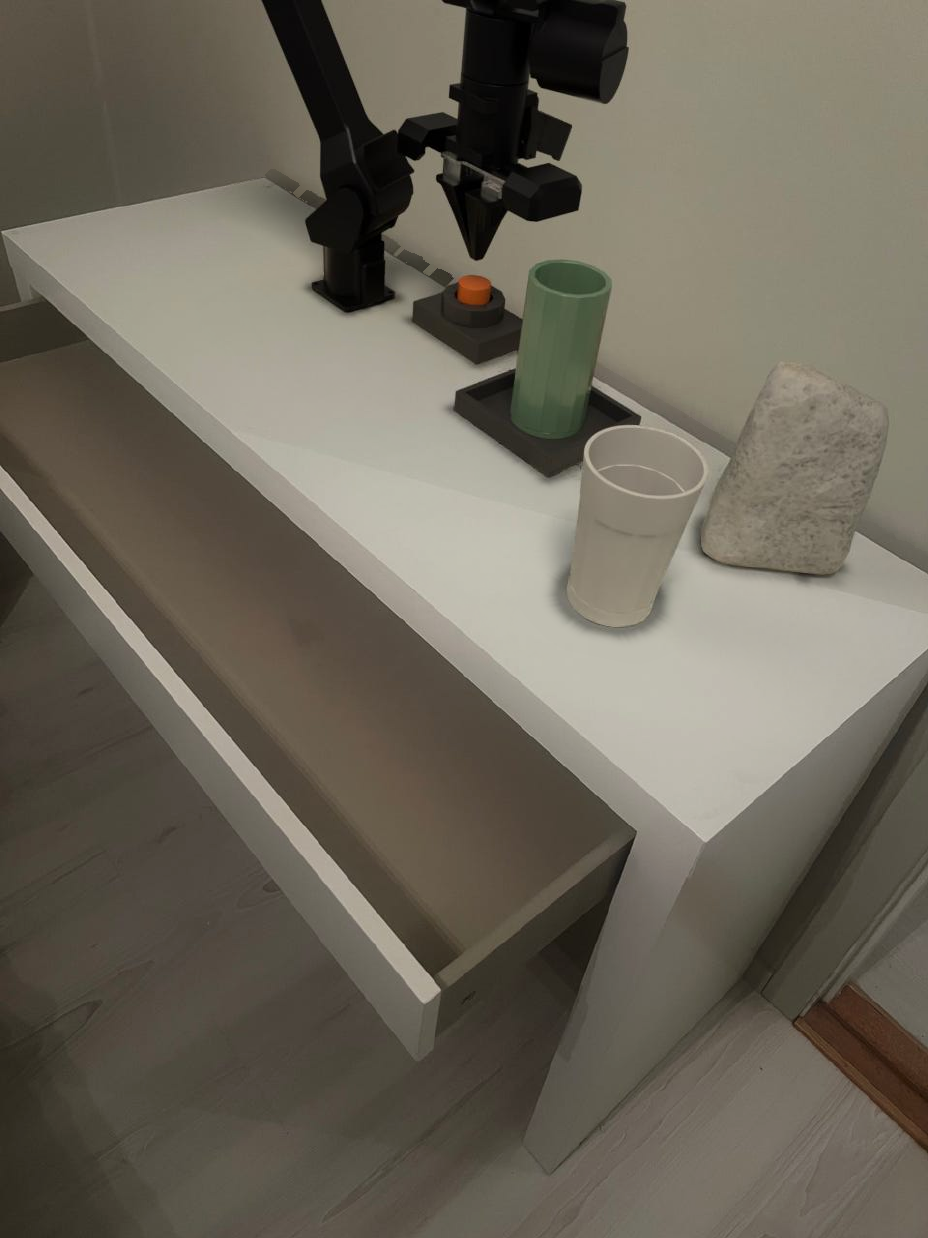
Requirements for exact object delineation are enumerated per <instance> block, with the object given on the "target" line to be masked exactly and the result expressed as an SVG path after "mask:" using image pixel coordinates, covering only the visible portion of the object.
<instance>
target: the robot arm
mask: <svg viewBox="0 0 928 1238" xmlns="http://www.w3.org/2000/svg"><path fill="white" fill-rule="evenodd" d="M260 1H261V3H262V6H263V8H264V11H265V13H266V15H267V17H268V20H269V22H270V25H271V27H272V29H273V32H274V34H275V37H276V38H277V39H276V40H277V41H278V44H279V46H280V49H281V50H282V53H283V55H284V58H285V60H286V63H287V65H288V67H289V69H290V72H291V75H292V76H293V79H294V82H295V84H296V86H297V89H298V91H299V92H300V96H301V98H302V101H303V102H304V105H305V108H306V110H307V112H308V115H309V117H310V119H311V122H312V124H313V126H314V129H315V132H316V134H317V136H318V140H319V178H320V179H319V180H320V182H321V186H322V190H323V193H324V196H325V201H323V203H321V204H320V205H319V207H317V208H316V209H315V210H313V212H312V213H311V214H309V215H308V216H307V217H306V218H305V219H304V224H305V228H306V231H307V234H308V237H309V240H310V242H311V243H313V244H316V245H319V246H322V252H323V253H322V258H323V263H322V265H323V266H322V267H323V279H318V280H315V281H312V282H311V289H312V290H313V291H315V292H317V294H320V295H321V296H322V297H324V298H325V299H326V300H328V301H329V302H331V303H333V304H334V305H335V306H337V307H338V308H340V310H342V311H345V312H351V311H355V310H358V309H361V308H364V307H368V306H372V305H374V304H377V303H381V302H385V301H387V300H391V299H395V297H396V291H395V290H393V289H392V288H390V287H388V286H387V285H386V258H385V248H386V247H385V245H386V244H385V243H386V242H385V241H384V240H383V234H384V233H385V232H386V231H388V230H389V229H393V228H395V226H396V224H397V221H398V219H399V216H400V215H402V214H404V213H405V212H406V211H407V209H409V207H410V204H411V201H412V198H413V195H414V184H413V183H414V182H413V180H412V176H411V175H412V174H414V173H415V169H414V168H413V166H412V165H411V164H410V162H409V161H408V159H410V160H411V161H413V162H416V161H420V160H421V159H422V158H423V157H424V156H425V155H426V149H427V148H430V149H432V150H434V151H436V152H437V153H440V158H442V159H443V160H442V161H443V162H442V172H441V173H437V174H436V175H435V181H436V183H438V184H439V185H440V187H441V188H442V191H443V193H444V195H445V197H446V200H447V202H448V205H449V207H450V209H451V211H452V214H453V216H454V219H455V221H456V223H457V226H458V229H459V232H460V235H461V237H462V240H463V242H464V245H465V248H466V251H467V253H468V257H469V258H470V259H472V260H473V261H475V262H479V261H482V260H483V259H484V258H485V256H486V254H487V252H488V250H489V249H490V246H491V244H492V242H493V240H494V238H495V236H496V234H497V232H498V230H499V227H500V225H501V223H502V221H503V220H504V218H505V216H506V215H507V213H508V212H510V213H511V214H513V215H515V216H517V217H518V218H521V219H522V220H525V221H526V222H532V223H538V222H541V221H542V222H543V221H546V220H549V219H552V218H556V217H557V218H558V217H560V216H564V215H567V214H571V213H574V212H579V210H580V205H581V198H582V193H583V185H582V182H581V181H580V179H579V177H578V175H575V174H574V173H572V172H569V171H567V170H565V169H564V168H561V167H559V166H557V165H555V164H553V163H551V162H546V163H542V164H538V165H534V166H529V167H528V166H526V165H524V164H522V163H520V162H519V160H521V159H523V160H525V161H528V160H533V159H536V157H537V152H538V153H541V154H544V155H547V156H550V157H551V158H552V160H554V161H557V162H561V159H562V156H563V154H564V151H565V148H566V145H567V142H568V140H569V138H570V135H571V132H572V130H573V127H572V125H573V124H571V123H569V122H567V121H565V120H562V119H560V118H558V117H556V116H553V115H551V114H549V113H547V112H544V111H543V110H540V109H539V104H540V99H539V96H538V95H539V93H538V92H537V91H534V90H532V89H529V85H530V79H533V80H536V83H537V85H538V87H539V88H540V89H543V90H547V91H551V92H555V93H559V94H561V95H567V96H571V97H574V98H579V99H581V100H582V99H583V100H585V101H589V102H594V103H598V104H602V105H607V104H609V103H610V102H611V101H612V100H613V98H614V97H615V95H616V93H617V91H618V89H619V87H620V85H621V82H622V78H623V76H624V73H625V71H626V65H627V62H628V59H629V58H628V57H629V52H630V51H629V50H630V47H629V46H628V27H627V23H626V22H625V17H626V10H627V4H626V2H625V1H621V0H441V2H442V3H443V4H445V5H450V6H454V7H458V8H463V9H465V15H464V16H465V18H464V27H463V28H464V29H463V30H464V31H463V43H462V56H461V68H460V69H461V70H460V80H459V82H458V83H452V84H449V88H448V99H450V100H452V101H455V102H457V103H458V104H457V105H458V107H457V118H456V117H455V116H452V115H450V114H448V113H446V112H444V111H441V112H435V113H430V114H424V115H419V116H413V117H407V118H405V119H404V121H403V123H402V124H401V125H400V126H399V129H398V130H396V129H392V130H389V131H387V132H385V133H384V132H382V131H381V130H380V129H379V127H377V126H376V125H375V123H373V122H372V121H371V120H370V118H369V117H368V115H367V112H366V109H365V107H364V105H363V102H362V100H361V99H362V98H361V97H360V95H359V92H358V89H357V87H356V84H355V81H354V80H353V77H352V75H351V72H350V70H349V69H350V68H349V67H348V64H347V61H346V59H345V56H344V54H343V52H342V48H341V46H340V44H339V41H338V39H337V36H336V34H335V32H334V29H333V26H332V24H331V21H330V18H329V16H328V13H327V10H326V8H325V6H324V3H323V1H322V0H260ZM539 110H540V111H539ZM546 113H547V114H546ZM555 117H556V118H555ZM564 121H565V122H564ZM571 129H572V130H571ZM407 158H408V159H407ZM382 233H383V234H382Z"/></svg>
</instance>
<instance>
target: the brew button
mask: <svg viewBox="0 0 928 1238" xmlns="http://www.w3.org/2000/svg"><path fill="white" fill-rule="evenodd" d="M457 283H458V294H457V298H458V300H459V301H461V302H463V303H467V304H471V305H483V304H486V303H489V301H490V293H491V285H492V282H491V280H489V279H488V278H487V277H485V276H483V275H477V274H468V275H467V274H466V275H463V276H461V277H460V278H459V279H458V282H457Z"/></svg>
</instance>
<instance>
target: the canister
mask: <svg viewBox="0 0 928 1238" xmlns="http://www.w3.org/2000/svg"><path fill="white" fill-rule="evenodd" d="M612 282H613V281H612V278H611V277H610V276H609V275H608V274H607V272H606V271H605V270H602V269H600V268H598V267H596V266H595V265H592V264H589V263H585V262H582V261H578V260H571V259H548V260H547V259H546V260H544V261H541V262H538V263H535V264H534V265H533V266H532V267H531V268H530V269H529V270H528V277H527V284H526V290H525V298H524V305H523V314H522V318H521V319H522V326H521V334H520V341H519V348H518V349H517V355H516V356H517V357H516V364H515V368H516V369H515V377H514V384H513V391H512V398H511V407H510V419H511V421H512V422H513V424H514V425H515V426H516V427H517V428H518V429H520V430H521V431H523V432H525V433H527V434H529V435H532V436H535V437H539V438H545V439H562V438H567V437H570V436H573V435H574V434H576V433H577V432H579V431H580V429H581V428H582V426H583V422H584V420H585V415H586V410H587V405H588V400H589V395H590V391H591V386H593V380H594V375H595V371H596V367H597V361H598V356H599V351H600V348H601V347H600V346H601V342H602V337H603V332H604V327H605V323H606V317H607V312H608V308H609V302H610V299H611V294H612V288H613V284H612Z"/></svg>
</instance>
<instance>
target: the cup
mask: <svg viewBox="0 0 928 1238" xmlns="http://www.w3.org/2000/svg"><path fill="white" fill-rule="evenodd" d="M708 478H709V465H708V463H707V461H706V457H704V455H703V454H702V452H700V450H699V449H698V448H696V447H695V446H694V445H693V444H692V443H690V442H689V441H688V440H686V439H685V438H682V437H681V436H679V435H677V434H675V433H672V432H670V431H667V430H664V429H660V428H657V427H652V426H647V425H641V424H640V425H621V426H615V427H610V428H607V429H604V430H602V431H599V432H598V433H596V434H594V435H593V436H592V437H591V438H590V439H589V440H588V442H587V443H586V445H585V449H584V457H583V461H582V467H581V476H580V486H579V487H580V488H579V502H578V509H577V518H576V525H575V534H574V542H573V549H572V550H573V551H572V558H571V566H570V572H569V576H568V580H567V585H566V598H567V600H568V602H569V604H570V605H571V607H572V608H573V609H574V611H576V613H578V614H579V615H580V616H582V617H583V618H585V619H586V620H588V621H591V622H592V623H595V624H597V625H601V626H606V627H611V628H625V627H632V626H634V625H637V624H639V623H641V622H643V621H644V620H646V618H648V617H649V615H650V614H651V612H652V609H653V607H654V603H655V600H656V598H657V595H658V592H659V591H660V588H661V585H662V583H663V580H664V579H665V576H666V574H667V572H668V569H669V566H670V564H671V562H672V560H673V557H674V555H675V553H676V550H677V548H678V545H679V543H680V541H681V539H682V536H683V534H684V533H685V529H686V527H687V525H688V522H689V520H690V518H691V515H692V514H693V512H694V509H695V508H696V505H697V502H698V501H699V498H700V496H701V495H702V491H703V489H704V487H705V485H706V483H707V481H708Z"/></svg>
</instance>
